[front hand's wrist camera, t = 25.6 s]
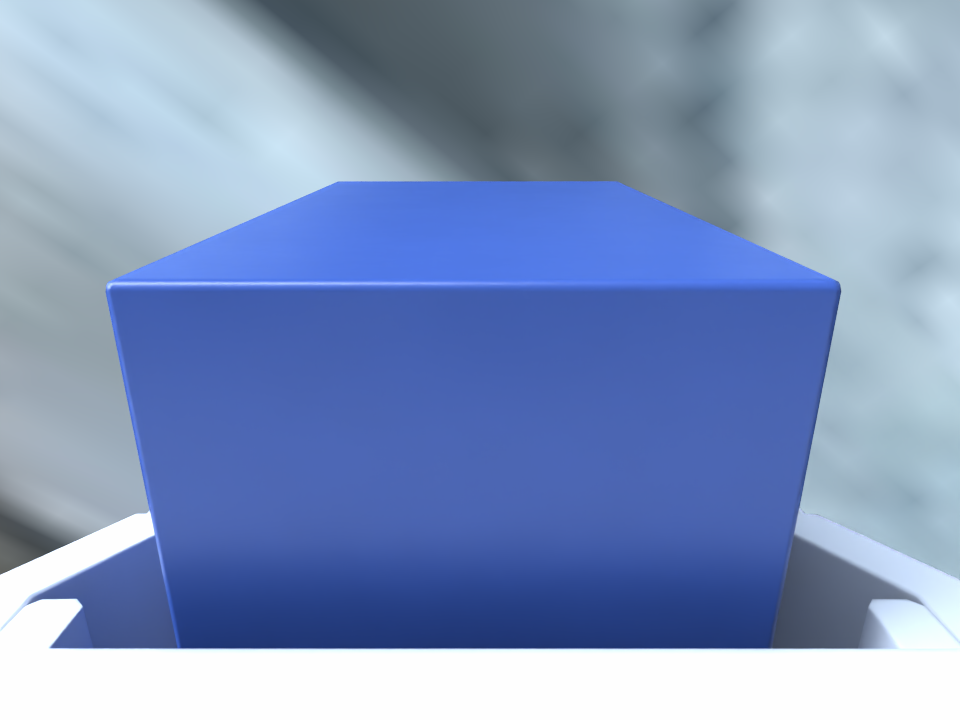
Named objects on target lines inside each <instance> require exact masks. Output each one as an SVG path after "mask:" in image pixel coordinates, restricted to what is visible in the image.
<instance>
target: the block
mask: <svg viewBox="0 0 960 720" xmlns="http://www.w3.org/2000/svg"><path fill="white" fill-rule="evenodd" d="M840 294H841V288H840V284H839V282H838V281H836V280H833V279H831V278H829V277H827V276H824V275H822V274H820V273H818V272H816V271H813V270H811V269H809V268H807V267H805V266H802V265H800V264H798V263H796V262H794V261H791V260H789V259H787V258H785V257H783V256H780V255H778V254H776V253H774V252H771V251H769V250H767V249H765V248H763V247H760V246H758V245H756V244H754V243H752V242H749V241H747V240H745V239H743V238H741V237H738V236H736V235H734V234H732V233H729V232H727V231H725V230H723V229H721V228H718V227H716V226H714V225H712V224H710V223H707V222H705V221H703V220H701V219H699V218H696V217H694V216H692V215H690V214H687V213H685V212H683V211H681V210H679V209H676V208H674V207H672V206H670V205H668V204H665V203H663V202H661V201H659V200H657V199H654V198H652V197H650V196H648V195H646V194H643V193H641V192H639V191H637V190H634V189H632V188H630V187H628V186H626V185H623V184H621V183H619V182H336V183H334V184H332V185H329V186H327V187H325V188H322V189H320V190H318V191H316V192H313V193H311V194H309V195H306V196H304V197H302V198H300V199H297V200H295V201H293V202H290V203H288V204H286V205H283V206H281V207H279V208H277V209H274V210H272V211H270V212H267V213H265V214H263V215H261V216H258V217H256V218H254V219H251V220H249V221H247V222H245V223H242V224H240V225H238V226H235V227H233V228H231V229H229V230H226V231H224V232H222V233H219V234H217V235H215V236H212V237H210V238H208V239H206V240H203V241H201V242H199V243H196V244H194V245H192V246H190V247H187V248H185V249H183V250H180V251H178V252H176V253H174V254H171V255H169V256H167V257H164V258H162V259H160V260H158V261H155V262H153V263H151V264H148V265H146V266H144V267H141V268H139V269H137V270H135V271H132V272H130V273H128V274H125V275H123V276H121V277H119V278H116V279H114V280H112V281H109V282H108V284H107V286H106V296H107V301H108V306H109V311H110V316H111V320H112V325H113V330H114V335H115V340H116V345H117V350H118V355H119V360H120V365H121V370H122V375H123V380H124V385H125V390H126V395H127V400H128V405H129V410H130V415H131V420H132V425H133V430H134V435H135V440H136V445H137V450H138V455H139V460H140V465H141V469H142V474H143V479H144V484H145V489H146V494H147V499H148V504H149V509H150V514H151V519H152V524H153V529H154V534H155V539H156V544H157V549H158V554H159V559H160V564H161V569H162V574H163V579H164V584H165V589H166V594H167V599H168V604H169V609H170V614H171V619H172V623H173V628H174V633H175V638H176V643H177V648H178V649H772V646H773V640H774V635H775V630H776V625H777V620H778V615H779V609H780V604H781V599H782V594H783V589H784V584H785V578H786V573H787V568H788V563H789V558H790V553H791V547H792V542H793V537H794V532H795V527H796V522H797V516H798V511H799V506H800V501H801V496H802V491H803V485H804V480H805V475H806V470H807V465H808V460H809V454H810V449H811V444H812V439H813V434H814V429H815V424H816V418H817V413H818V408H819V403H820V398H821V393H822V387H823V382H824V377H825V372H826V367H827V362H828V356H829V351H830V346H831V341H832V336H833V331H834V325H835V320H836V315H837V310H838V305H839V300H840Z"/></svg>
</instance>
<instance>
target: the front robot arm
mask: <svg viewBox="0 0 960 720" xmlns="http://www.w3.org/2000/svg"><path fill="white" fill-rule="evenodd" d="M0 720H960V579H957V578H955V577H953V576H951V575H949V574H947V573H944V572H942V571H940V570H938V569H936V568H933V567H931V566H929V565H927V564H925V563H922V562H920V561H918V560H916V559H914V558H912V557H909V556H907V555H905V554H903V553H901V552H898V551H896V550H894V549H892V548H890V547H887V546H885V545H883V544H881V543H879V542H877V541H874V540H872V539H870V538H868V537H866V536H863V535H861V534H859V533H857V532H855V531H852V530H850V529H848V528H846V527H844V526H842V525H839V524H837V523H835V522H833V521H831V520H828V519H826V518H824V517H822V516H820V515H818V514H805V513H804V511H803V510H802V509H801V508H800V507H799V511H798V516H797V522H796V527H795V532H794V537H793V542H792V547H791V553H790V558H789V563H788V568H787V573H786V578H785V584H784V589H783V594H782V599H781V604H780V609H779V615H778V620H777V625H776V630H775V635H774V640H773V646H772V649H178V648H177V643H176V638H175V633H174V628H173V623H172V619H171V614H170V609H169V604H168V599H167V594H166V589H165V584H164V579H163V574H162V569H161V564H160V559H159V554H158V549H157V544H156V539H155V534H154V529H153V524H152V519H151V514H150V511H149V512H148V513H147V514H135V515H133V516H131V517H128V518H126V519H124V520H122V521H119V522H117V523H115V524H113V525H111V526H108V527H106V528H104V529H102V530H100V531H97V532H95V533H93V534H91V535H88V536H86V537H84V538H82V539H80V540H77V541H75V542H73V543H71V544H69V545H66V546H64V547H62V548H60V549H57V550H55V551H53V552H51V553H49V554H46V555H44V556H42V557H40V558H37V559H35V560H33V561H31V562H29V563H26V564H24V565H22V566H20V567H18V568H15V569H13V570H11V571H9V572H6V573H4V574H2V575H0Z"/></svg>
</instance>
